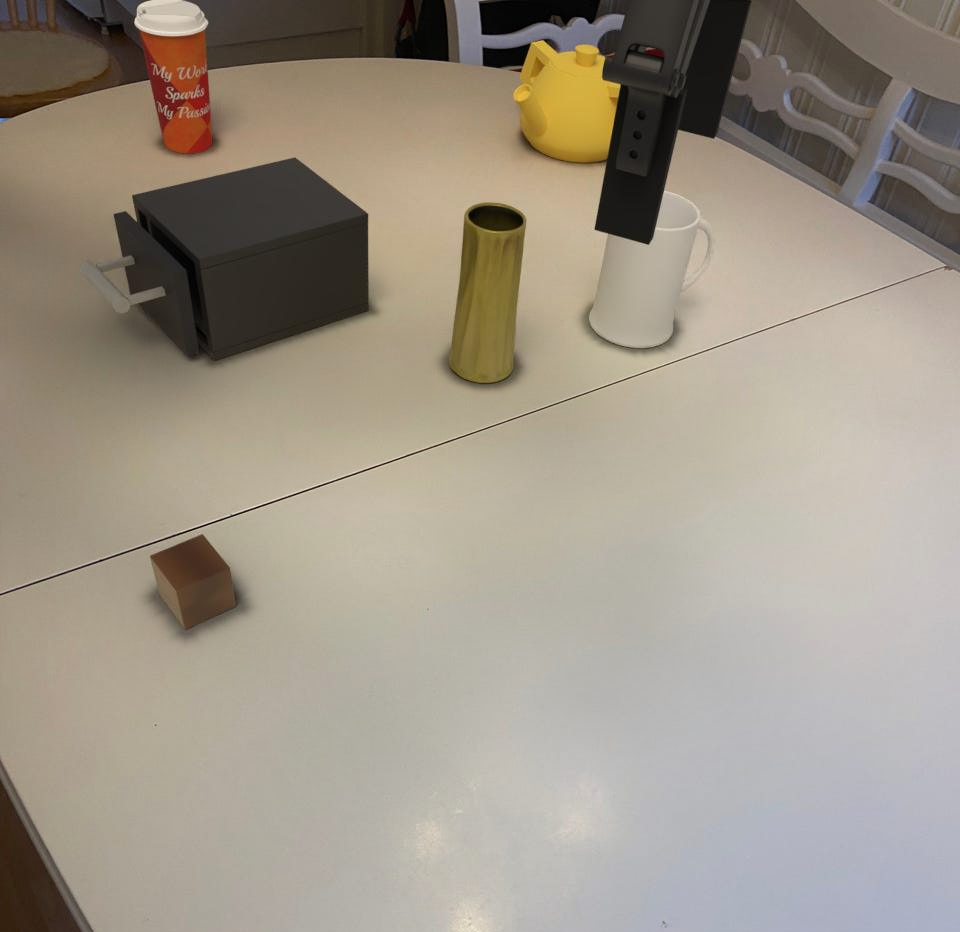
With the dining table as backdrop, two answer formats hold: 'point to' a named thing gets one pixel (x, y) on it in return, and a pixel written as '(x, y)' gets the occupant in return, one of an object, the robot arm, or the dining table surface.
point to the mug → (648, 277)
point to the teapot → (567, 103)
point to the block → (193, 581)
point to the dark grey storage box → (265, 251)
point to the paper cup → (177, 71)
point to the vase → (488, 292)
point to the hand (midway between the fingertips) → (660, 178)
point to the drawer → (153, 281)
